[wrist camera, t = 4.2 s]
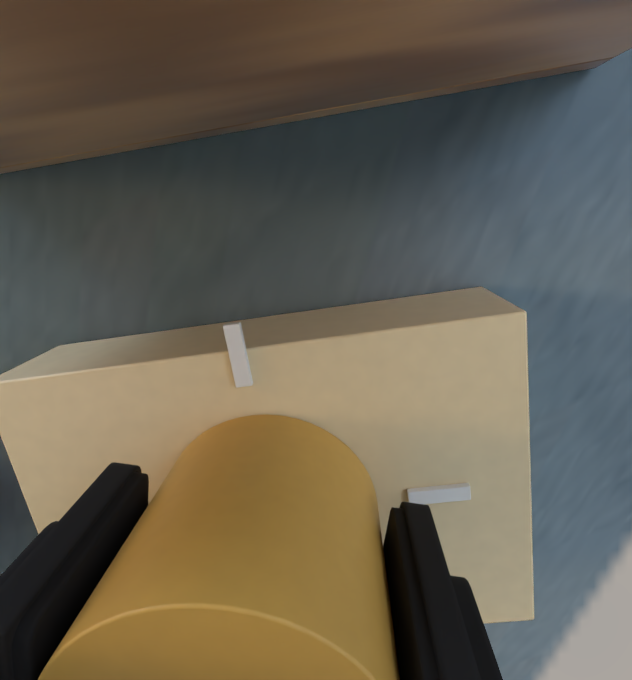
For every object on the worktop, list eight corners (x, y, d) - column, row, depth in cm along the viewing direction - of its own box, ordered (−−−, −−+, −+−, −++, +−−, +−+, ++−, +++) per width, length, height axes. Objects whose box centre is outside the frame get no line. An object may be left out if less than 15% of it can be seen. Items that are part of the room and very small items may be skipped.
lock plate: (481, 263, 12) (530, 282, 9) (496, 552, 14) (538, 645, 11) (52, 324, 13) (-37, 361, 10) (136, 583, 15) (86, 676, 12)
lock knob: (286, 370, 10) (229, 553, 5) (419, 531, 11) (493, 828, 6) (123, 489, 11) (-72, 744, 6) (258, 624, 12) (194, 947, 7)
